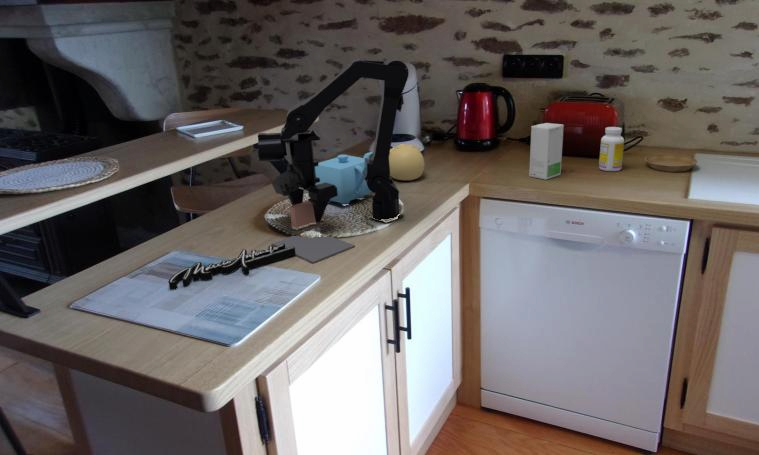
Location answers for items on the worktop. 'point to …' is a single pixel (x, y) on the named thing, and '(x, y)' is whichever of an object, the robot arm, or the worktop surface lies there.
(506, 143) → the worktop surface
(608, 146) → the supplement bottle
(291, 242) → the mat
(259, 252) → the nameplate
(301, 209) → the card box
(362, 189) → the teapot
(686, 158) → the plant saucer
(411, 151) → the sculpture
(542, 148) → the skincare box
